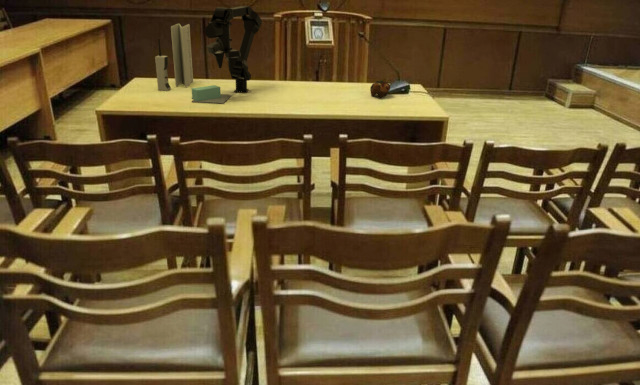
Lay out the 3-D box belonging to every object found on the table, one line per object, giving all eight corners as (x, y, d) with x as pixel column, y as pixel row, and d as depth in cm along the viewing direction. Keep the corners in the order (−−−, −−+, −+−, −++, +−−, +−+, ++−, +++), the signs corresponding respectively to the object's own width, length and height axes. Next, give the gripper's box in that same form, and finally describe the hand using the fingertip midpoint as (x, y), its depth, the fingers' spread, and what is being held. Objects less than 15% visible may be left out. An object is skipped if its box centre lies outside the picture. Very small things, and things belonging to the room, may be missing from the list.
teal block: (215, 95, 244) (192, 98, 237) (214, 85, 242) (191, 88, 234) (220, 97, 241) (197, 101, 233) (220, 87, 239) (196, 90, 231)
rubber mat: (201, 94, 248) (201, 93, 247) (231, 95, 247) (231, 94, 247) (191, 102, 233) (191, 101, 233) (223, 104, 232) (223, 102, 232)
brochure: (186, 87, 258) (181, 27, 246) (175, 87, 258) (170, 26, 246) (193, 81, 271) (189, 24, 259) (183, 81, 271) (178, 23, 259)
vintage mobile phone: (167, 91, 250) (162, 39, 240) (158, 90, 251) (153, 38, 241) (170, 89, 254) (166, 38, 243) (161, 88, 254) (157, 37, 244)
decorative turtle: (365, 98, 254) (366, 82, 250) (375, 92, 266) (376, 77, 263) (383, 100, 250) (385, 84, 247) (392, 94, 263) (394, 79, 259)
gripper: (198, 34, 235) (200, 68, 242) (219, 39, 222) (220, 75, 229) (219, 33, 242) (220, 65, 248) (240, 38, 229) (241, 72, 236)
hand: (225, 69), depth 240 cm, fingers open, 9 cm apart
